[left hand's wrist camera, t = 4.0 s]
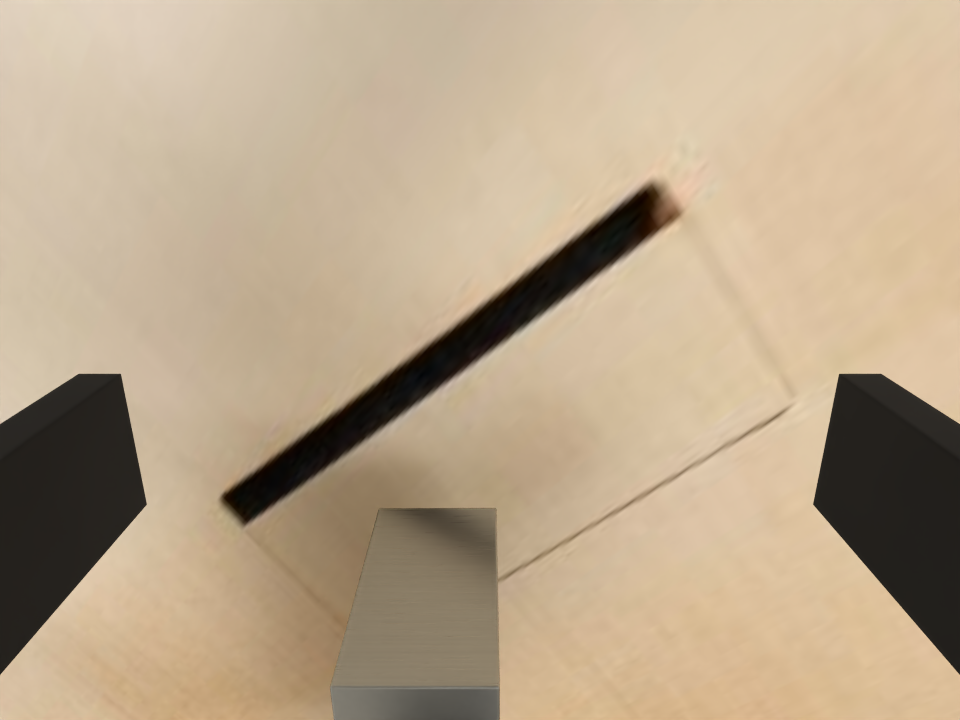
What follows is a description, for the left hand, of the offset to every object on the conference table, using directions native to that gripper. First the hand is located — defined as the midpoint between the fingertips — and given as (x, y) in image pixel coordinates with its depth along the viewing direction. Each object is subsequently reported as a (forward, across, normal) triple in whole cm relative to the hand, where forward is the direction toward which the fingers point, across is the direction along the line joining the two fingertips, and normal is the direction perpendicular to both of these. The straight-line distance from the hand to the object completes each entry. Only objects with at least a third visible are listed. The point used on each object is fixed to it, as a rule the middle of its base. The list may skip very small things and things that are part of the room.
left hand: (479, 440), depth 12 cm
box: (+18, -2, -24) cm, 30 cm away
